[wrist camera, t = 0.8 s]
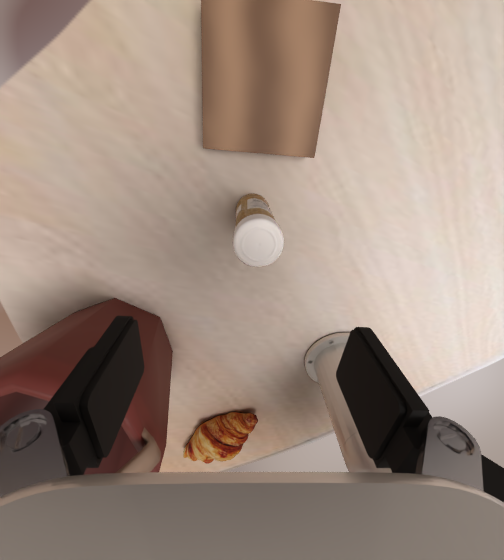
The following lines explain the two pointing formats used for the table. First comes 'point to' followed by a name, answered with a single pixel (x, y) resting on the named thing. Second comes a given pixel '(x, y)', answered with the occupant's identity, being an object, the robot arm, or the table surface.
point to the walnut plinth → (265, 73)
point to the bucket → (64, 357)
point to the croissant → (220, 437)
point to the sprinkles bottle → (256, 232)
